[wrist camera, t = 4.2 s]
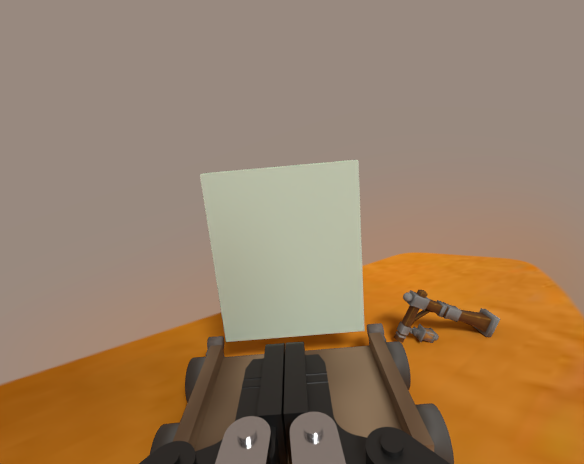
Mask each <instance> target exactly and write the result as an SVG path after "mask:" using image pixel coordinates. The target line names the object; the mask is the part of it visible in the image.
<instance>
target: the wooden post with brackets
mask: <svg viewBox="0 0 584 464" xmlns="http://www.w3.org/2000/svg"><path fill="white" fill-rule="evenodd" d="M426 296H427V293H426V292H425V291H424V290H418V292H417V293H415V292H413V291H411V290H410V292H409V293H405V294H404V295H403V299H404V300H405V301H406V302H407V303H408V304H409V305H410V306H409V308H408V310H407V312H406V314H405V316H404V318H403V320H402V322H400V323H399V326H398V328H397V330H398V331H397V332H396V334H395V336H394V337H395V339H396V340H397V341H399V342H403V341H404V339H405V338H406V335H407V336H408V334H409V332H410V333H411V334H413V335H414V336H416V337H417V339H418V340H419V341H420V342H422V340H425V341H428V342H430V343H433V341H434V340H437V339H438V335H437V334H436V333H435V332H434V331H433V330H432V329H431V328H423V326H422V325H421V324H419V326H418V328H415V327H414V328H412V329H413V330H412V329H411V325H412V324H413V323H414V321H416V320H417V319H419V318H421V317H422V316H424V315H426V314H427V313H429V312H434V313H436V314H437V315H438V316H440V317H444V318H445V319H450V320H454V321H456V322H457V321H461V322H464V323H467V324H469V325H471V326H473V327H475V328H476V329H477V330H478V331H480V332H481V333H482V334H483V335H484V336H486V337H491V336H492V334H493V332H494V330H495V328H496V327H497V325H498V323H499V321H500V319H499V318H498V317H496V316H495V315H493V314H492V313H491V312H489V311H488V310H486V309H482V308H481V310H480V312H471V311H464V310H460V309H458V308H457V307H455V306H451V305H448V304H446V303H444V302H443V303H442V302H441V301H438V300H437V302H436V301H433V300H430V299H428V298H427V297H426ZM419 309H423V311H421V312H419V313H418V311H419ZM417 313H418V314H417Z"/></svg>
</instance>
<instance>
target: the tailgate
mask: <svg viewBox="0 0 584 464" xmlns="http://www.w3.org/2000/svg"><path fill="white" fill-rule="evenodd" d="M200 178H201V185H202V191H203V198H204V204H205V210H206V216H207V223H208V229H209V236H210V242H211V249H212V255H213V261H214V268H215V274H216V281H217V287H218V294H219V300H220V307H221V313H222V319H223V326H224V332H225V339H226V342H232V341H244V340H257V339H269V338H282V337H294V336H306V335H319V334H331V333H344V332H356V331H364V306H363V277H362V251H361V221H360V194H359V165H358V160H348V161H337V162H326V163H315V164H304V165H293V166H283V167H282V166H281V167H270V168H260V169H248V170H236V171H225V172H214V173H204V174H201V175H200Z"/></svg>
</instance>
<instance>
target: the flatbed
mask: <svg viewBox="0 0 584 464" xmlns="http://www.w3.org/2000/svg"><path fill="white" fill-rule="evenodd" d="M367 333H368V337H369V346H359V347H347V348H334V349H321V350H309V351H305V355H313V354H319V355H320V357H321V358H322V359H323V360H324V361H325V364H326V371H327V377H328V383H329V390H330V396H331V403H332V409H333V415H334V418H335V420H336V422H337V424H338V425H339V426H340V427H341V428H342V429H344V430H345V431H347V432H349V433H351V434H354V435H358V436H362V437H368V435H369V434H370V433H371V432H372V431H374V430H375V429H377V428H381V427H394V428H397V429H400V430H402V431H404V432H406V433H407V434H409V435H410V436H412V437H413V438H414V439H416V440H417V441H419V442H420V443H422V444H423V445H424V446H426V447H427V448H429V449H430V450H432V451H433V452H434V453H436V454H437V455H439V456H440V457H442V458H443V459H444V460H446V461H447V462H449V463H450V464H454V457H453V450H452V445H451V440H450V436H449V433H448V430H447V427H446V424H445V422H444V419H443V417H442V415H441V413H440V411H439V410H438V408H437V407H436V406H435V405H434V404H419V405H415V404H414V401H413V399H412V397H411V395H410V393H409V391H408V390H409V388H410V369H409V364H408V359H407V356H406V353H405V350H404V348H403V346H402V344H401V343H400V342H399V341H398V342H386V339H385V337H384V329H383V326H382V324H381V323H380V324H368V325H367ZM207 347H208V350H207V353H206V357H197V358H192V359H191V360H190V362H189V364H188V368H187V372H186V380H185V392H186V399H187V403H188V404H187V406H186V409H185V411H184V414H183V416H182V419H181V421H180V423H171V424H163V425H162V426H161V427H160V428H159V430H158V431H157V433H156V435H155V438H154V440H153V444H152V447H151V451H150V454H152V453H153V452H154V451H155V450H157V449H158V448H159V447H161V446H163V445H165V444H167V443H170V442H173V441H185V442H188V443H190V444H191V445H192V446H193V448H194V450H195V451H198V450H201V449H203V448H206V447H209V446H211V445H214V444H216V443H218V442H219V441H221V440H222V439H223V437H224V434H225V432H226V430H227V428H228V427H229V426H230V425H231V424H232V423H233V422H235V418H236V413H237V408H238V403H239V399H240V394H241V389H242V384H243V381H244V374H245V369H246V367H247V366H248V365H249V363H250V362H251V361H252V360H253V359H262V358H264V354H259V355H246V356H234V357H224V352H223V349H224V337H223V336H219V337H209V338H208V342H207ZM288 464H289V458H288Z"/></svg>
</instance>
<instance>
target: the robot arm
mask: <svg viewBox="0 0 584 464" xmlns="http://www.w3.org/2000/svg"><path fill="white" fill-rule="evenodd" d="M288 458H289V464H450V463H449V462H447V461H446V460H444V459H443V458H442V457H440V456H439V455H437V454H436V453H434V452H433V451H432V450H430V449H429V448H427V447H426V446H424V445H423V444H422V443H420V442H419V441H417V440H416V439H414V438H413V437H412V436H410V435H409V434H407V433H406V432H404V431H402V430H400V429H397V428H394V427H381V428H377V429H375V430H374V431H372V432H371V433H370V434H369V435H368V437H362V436H358V435H354V434H351V433H349V432H347V431H345V430H344V429H342V428H341V427H340V426H339V425H338V424H337V422H336V420H335V418H334V415H333V409H332V403H331V396H330V390H329V383H328V377H327V371H326V364H325V361H324V360H323V359H322V358H321V357H320V355H319V354H313V355H305V349H304V342H293V343H286V345H285V344H284V343H281V344H268V345H266V346H265V354H264V358H262V359H253V360H252V361H251V362H250V363H249V365H248V366H247V367H246V369H245V374H244V381H243V384H242V389H241V394H240V399H239V403H238V408H237V413H236V418H235V422H233V423H232V424H231V425H230V426H229V427H228V428H227V430H226V432H225V434H224V437H223V439H222V440H221V441H219V442H218V443H216V444H214V445H211V446H209V447H206V448H203V449H201V450H198V451H195V450H194V448H193V446H192V445H191V444H190V443H188V442H185V441H173V442H170V443H167V444H165V445H163V446H161V447H159V448H158V449H157V450H155V451H154V452H153V453H152V454H150V455H149V456H148V457H147V458H145V459H144V460H143V461H142V462H141V463H139V464H288Z"/></svg>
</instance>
